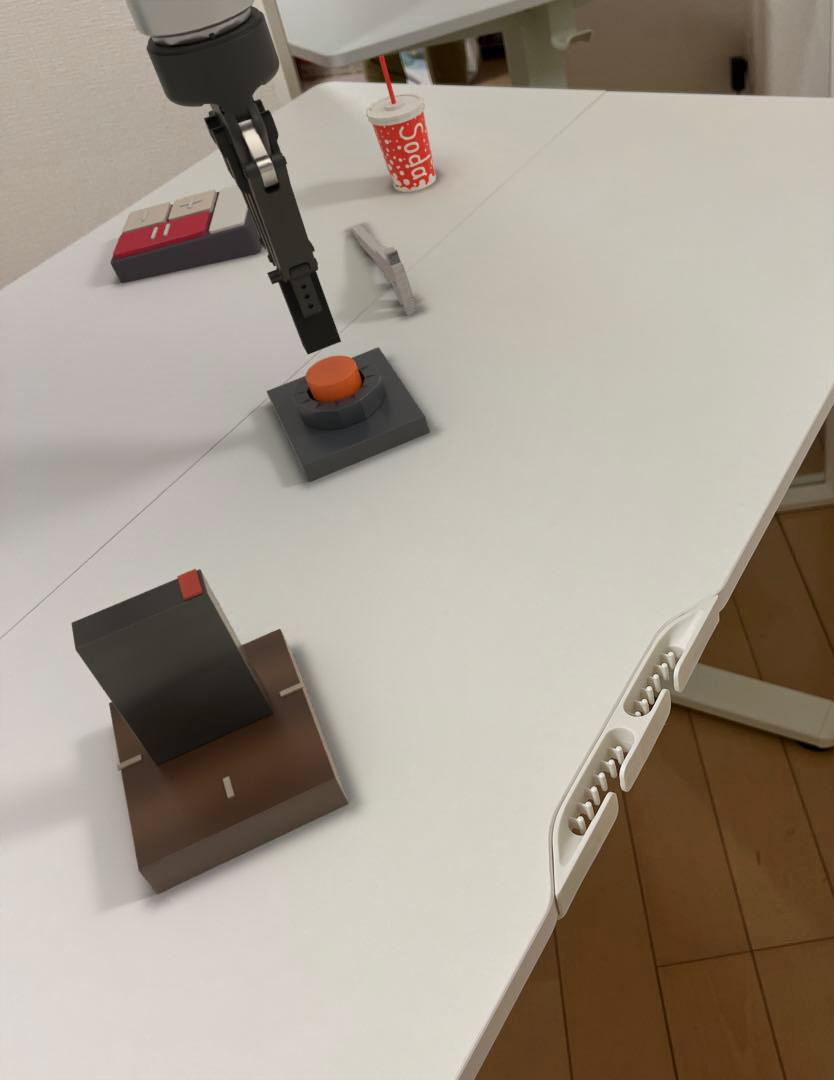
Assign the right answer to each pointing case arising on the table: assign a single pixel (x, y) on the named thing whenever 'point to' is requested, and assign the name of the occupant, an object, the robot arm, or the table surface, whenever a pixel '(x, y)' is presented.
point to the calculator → (185, 235)
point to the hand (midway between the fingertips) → (321, 343)
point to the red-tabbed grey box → (172, 666)
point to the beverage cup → (403, 137)
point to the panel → (230, 780)
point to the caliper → (388, 267)
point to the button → (333, 378)
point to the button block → (348, 418)
